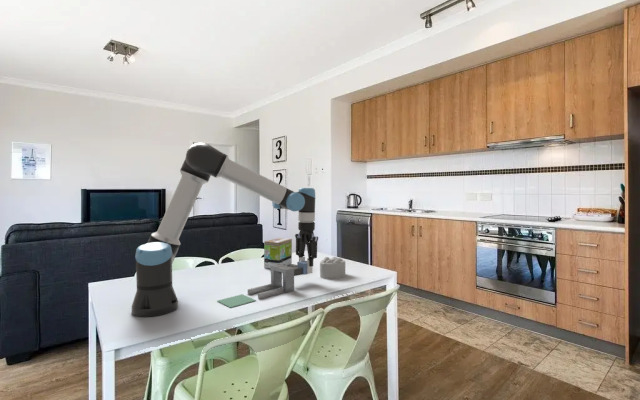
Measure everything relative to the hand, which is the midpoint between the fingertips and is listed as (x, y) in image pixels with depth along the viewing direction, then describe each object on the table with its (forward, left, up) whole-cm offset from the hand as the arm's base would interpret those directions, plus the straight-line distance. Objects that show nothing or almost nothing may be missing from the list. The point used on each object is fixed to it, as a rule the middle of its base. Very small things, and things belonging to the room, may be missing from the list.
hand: (305, 272), depth 157 cm
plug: (-4, 0, 0) cm, 4 cm away
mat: (-36, 0, -5) cm, 36 cm away
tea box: (+11, +35, -5) cm, 37 cm away
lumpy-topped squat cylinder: (+17, 0, -5) cm, 18 cm away
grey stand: (-20, 0, -5) cm, 21 cm away
